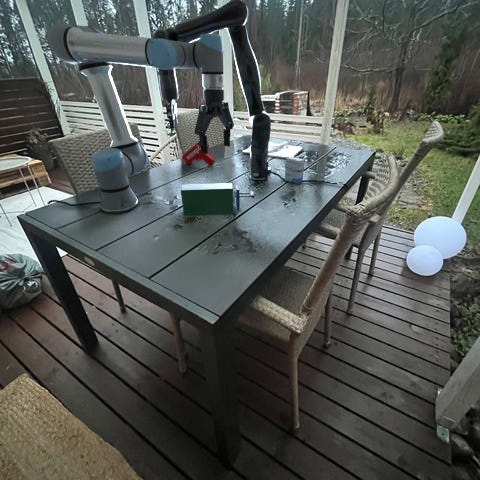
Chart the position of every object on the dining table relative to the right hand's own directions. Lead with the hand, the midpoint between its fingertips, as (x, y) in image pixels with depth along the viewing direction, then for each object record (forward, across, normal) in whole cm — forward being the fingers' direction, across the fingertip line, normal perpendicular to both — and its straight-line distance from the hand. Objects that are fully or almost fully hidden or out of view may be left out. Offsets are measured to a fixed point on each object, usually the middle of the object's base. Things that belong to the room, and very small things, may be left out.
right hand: (174, 126), depth 128 cm
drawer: (+27, -35, -22) cm, 49 cm away
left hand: (+4, -28, -20) cm, 34 cm away
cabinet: (+28, -35, -16) cm, 47 cm away
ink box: (+28, -3, -59) cm, 65 cm away
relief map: (+28, +57, -58) cm, 86 cm away
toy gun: (+28, +31, -7) cm, 42 cm away
